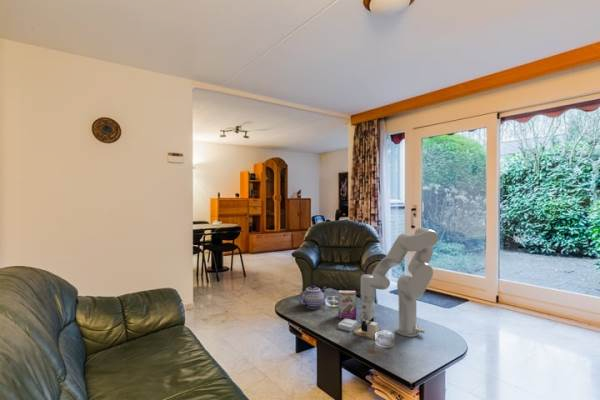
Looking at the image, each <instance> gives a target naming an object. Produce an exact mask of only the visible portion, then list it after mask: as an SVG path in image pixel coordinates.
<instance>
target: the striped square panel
mask: <svg viewBox="0 0 600 400" xmlns="http://www.w3.org/2000/svg"><path fill="white" fill-rule="evenodd" d="M358 326H359V324H358V321H357V320H356V319H348V318H343V319H342V320H341V321H340V322H338V324H337V328H338V329H339V330H343V331H344V330H345V331H346V332H348V331H349V332H353V331H354V330H355V329H356V328H357V327H358Z"/></svg>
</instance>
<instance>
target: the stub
mask: <svg viewBox="0 0 600 400" xmlns="http://www.w3.org/2000/svg"><path fill="white" fill-rule="evenodd" d="M364 321H366V320H364ZM378 329H379V323H378V322H375V321H374V322H372V321H368V320H367V332H365V331H362V333H365V334H369V335H372V336H375V333H376V332H378Z"/></svg>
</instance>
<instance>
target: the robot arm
mask: <svg viewBox="0 0 600 400" xmlns="http://www.w3.org/2000/svg"><path fill="white" fill-rule="evenodd" d="M438 242H439V235H438V233H437V232H436V231H435V230H434V229H429V228H426V227H418V228H417V229H415V231H414V234H412V235H410V234H407V233H402V234H400V235H398V236H397V238H395V241H394V242H393V244H392V245H391V247H390V249H389V250H388V252H387V254H386V255H385V256H384V257H383V258H382V259H381V260H380V261H379V262H378V264H376V266H375V268H374V269H373V271H372V273H371V274H369V273H367V274H365V273H364V274H362V275H360V301H361V306H360V325H361V330H362V331H365V332H367V320H368V321H372V322H375V321H374V320H375V315H376V304H375V290H387V289H388V288H390V286H391V281H390V279H389V278H388V277H387V276H386V275H387V273H388V272H389V271H390V269H392V268H393V267H396V266H399V265H401V264H402V262H403V260H404V258H405V257H406V255H407V254H408V252H410V253H412V252H414V255H413V256H412V258H411V260H410V262H409V264H408V266H407V271H408V273H409V274H410V275H412V276H410V275H407V274H406V275H405V274H403V275H401V276H400V277H399V278H398V279H397V282H396V286H397V287H396V288H397V295H398V325H397V326H396V327H395V331H396V333H397V334H399V335H401V336H403V337H410V338H412V337H417V336H420V333H421V334H425V333H426V332H425V331H426V330H425V329H424V328H423V327H420V326H419V324H418V323H417V321H418V320H417V299H420V298H421V297H423V294H424V293H425V292H426V290H427V288H428V286H429V284H430V282H431V280H432V278H433V274H434V269H433V267H432V265H430V264H429V263H430V261H431V259H432V256H433V254H434V246H435V245H437V243H438ZM364 320H366V321H364Z"/></svg>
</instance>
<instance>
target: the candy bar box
mask: <svg viewBox="0 0 600 400" xmlns="http://www.w3.org/2000/svg"><path fill="white" fill-rule="evenodd" d="M338 318H339V319H345V318H347V319H351V320H357V291H356V290H338Z"/></svg>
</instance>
